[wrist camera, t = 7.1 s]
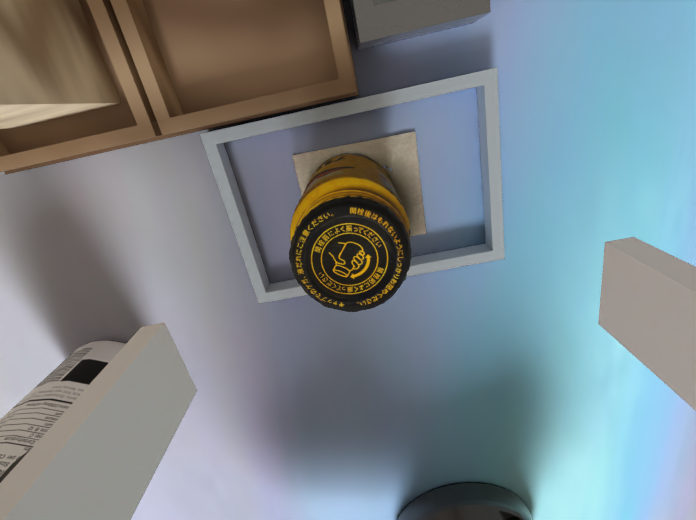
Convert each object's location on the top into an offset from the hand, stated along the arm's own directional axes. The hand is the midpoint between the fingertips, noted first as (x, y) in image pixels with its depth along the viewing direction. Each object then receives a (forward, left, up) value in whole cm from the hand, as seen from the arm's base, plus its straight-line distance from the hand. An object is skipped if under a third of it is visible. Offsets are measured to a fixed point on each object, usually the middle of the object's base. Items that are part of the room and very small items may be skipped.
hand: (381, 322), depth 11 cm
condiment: (0, 0, -17) cm, 17 cm away
